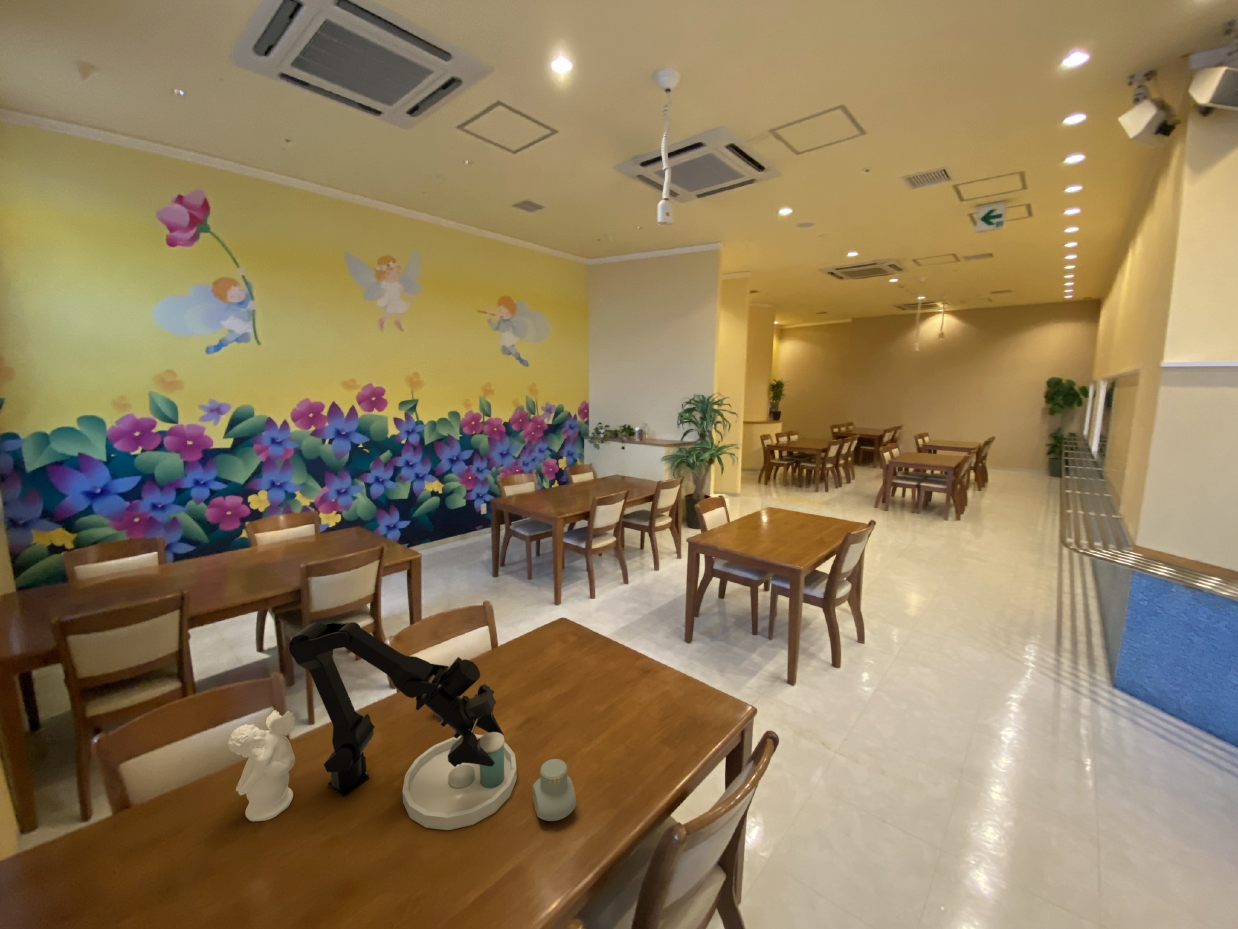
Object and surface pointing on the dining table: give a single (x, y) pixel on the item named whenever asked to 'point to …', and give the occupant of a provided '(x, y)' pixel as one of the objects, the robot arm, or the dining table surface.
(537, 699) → the dining table surface
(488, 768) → the bead jar
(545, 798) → the air freshener
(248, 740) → the cherub figurine
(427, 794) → the groove tray
